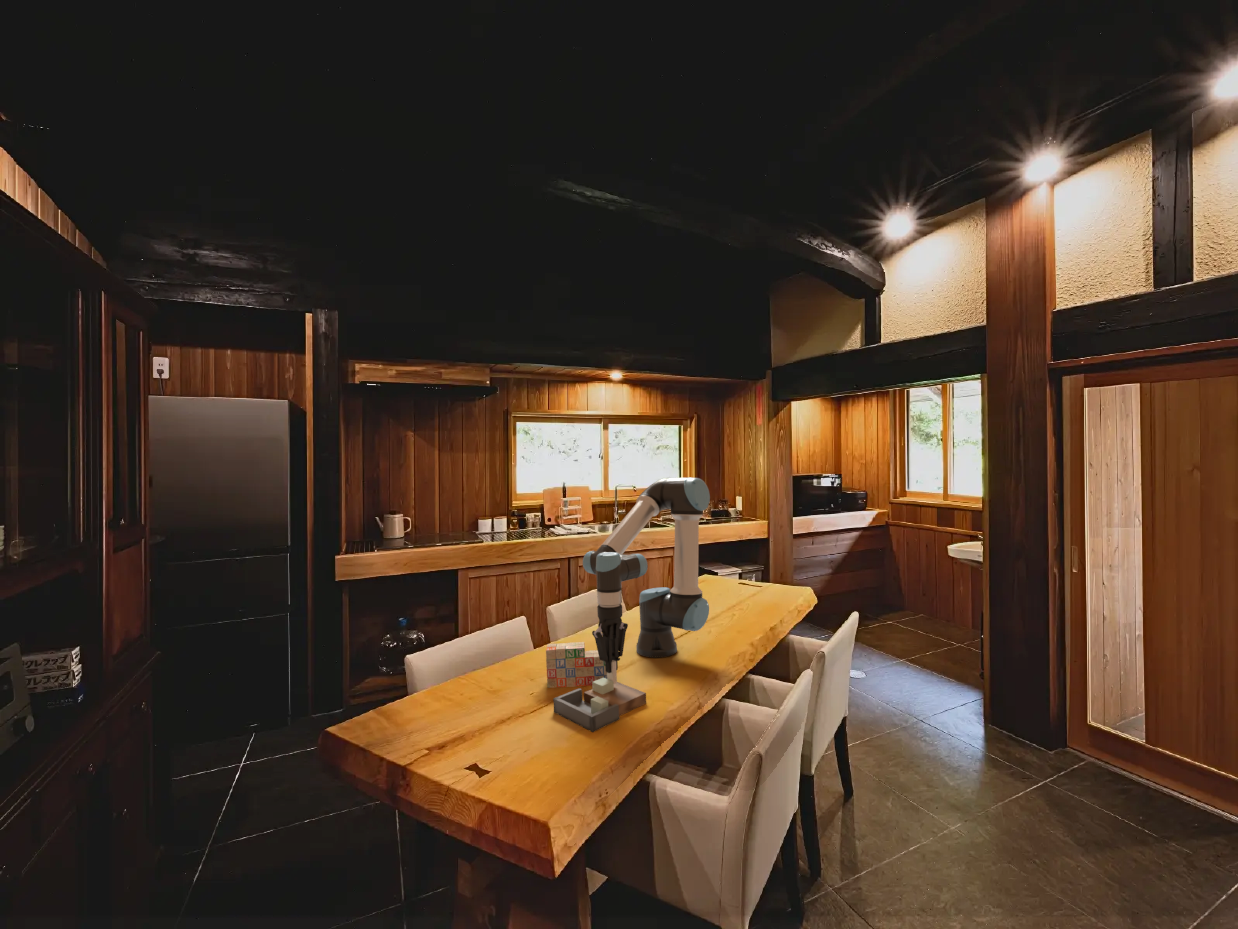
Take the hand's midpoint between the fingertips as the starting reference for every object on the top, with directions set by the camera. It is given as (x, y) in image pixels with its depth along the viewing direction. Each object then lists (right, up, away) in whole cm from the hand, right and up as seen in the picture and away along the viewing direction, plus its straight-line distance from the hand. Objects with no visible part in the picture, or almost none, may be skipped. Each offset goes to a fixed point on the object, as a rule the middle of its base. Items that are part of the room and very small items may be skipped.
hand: (612, 682), depth 165 cm
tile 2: (-2, -2, -13) cm, 14 cm away
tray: (-7, -5, -12) cm, 15 cm away
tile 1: (-3, -1, -2) cm, 4 cm away
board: (+1, -4, -5) cm, 6 cm away
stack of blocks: (-10, -5, +12) cm, 16 cm away
